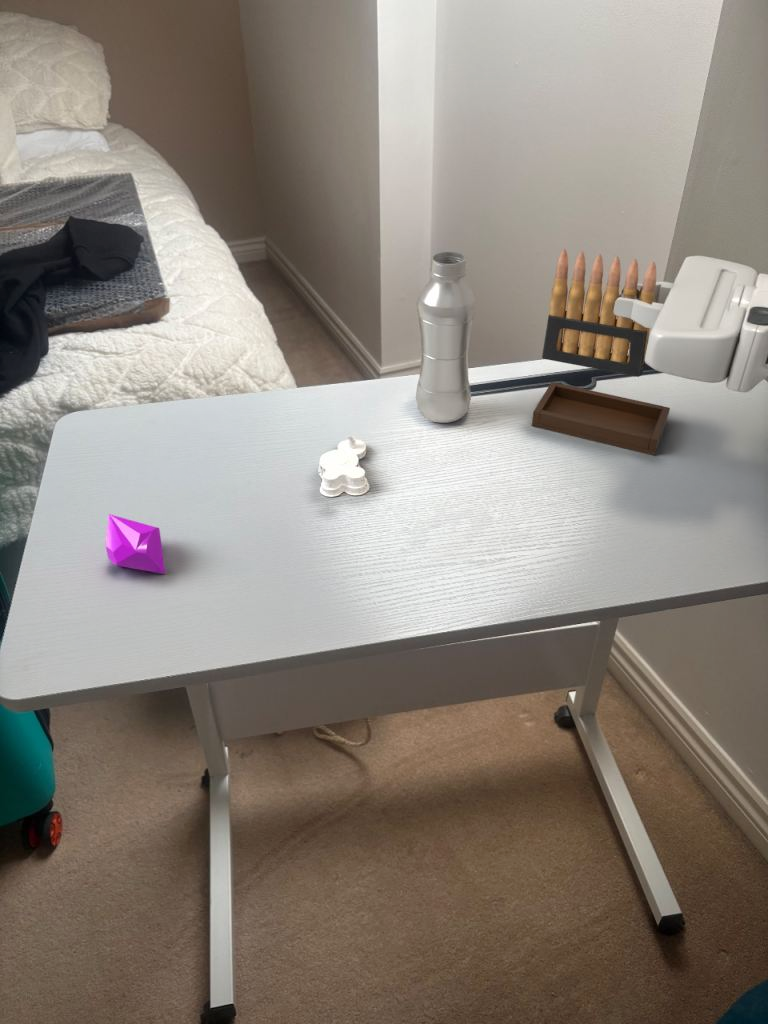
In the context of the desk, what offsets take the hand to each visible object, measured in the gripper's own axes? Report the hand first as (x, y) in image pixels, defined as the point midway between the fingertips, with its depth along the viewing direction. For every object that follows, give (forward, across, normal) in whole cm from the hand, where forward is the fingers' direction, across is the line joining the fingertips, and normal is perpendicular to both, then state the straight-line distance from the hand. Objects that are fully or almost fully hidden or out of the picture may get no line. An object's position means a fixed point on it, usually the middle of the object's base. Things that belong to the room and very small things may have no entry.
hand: (619, 298), depth 84 cm
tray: (+1, -6, +19) cm, 20 cm away
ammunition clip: (+2, 0, +8) cm, 8 cm away
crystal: (+36, +37, +19) cm, 55 cm away
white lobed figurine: (+24, +16, +19) cm, 34 cm away
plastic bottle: (+19, 0, +19) cm, 27 cm away
